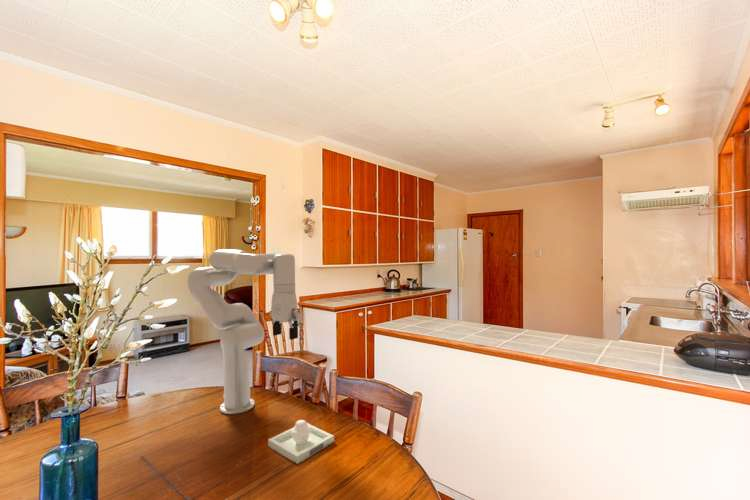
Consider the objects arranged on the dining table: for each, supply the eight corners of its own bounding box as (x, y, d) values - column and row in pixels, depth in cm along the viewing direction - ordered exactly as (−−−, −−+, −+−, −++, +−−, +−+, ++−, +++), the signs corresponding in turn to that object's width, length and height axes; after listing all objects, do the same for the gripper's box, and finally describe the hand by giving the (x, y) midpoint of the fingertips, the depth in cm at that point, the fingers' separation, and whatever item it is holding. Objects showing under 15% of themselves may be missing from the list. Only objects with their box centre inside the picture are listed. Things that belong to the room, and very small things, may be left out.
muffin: (294, 450, 107) (294, 426, 107) (288, 440, 112) (288, 418, 112) (314, 443, 110) (313, 421, 110) (307, 435, 116) (306, 413, 116)
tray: (268, 446, 110) (268, 439, 110) (305, 428, 121) (304, 421, 121) (297, 464, 101) (297, 456, 101) (334, 442, 112) (334, 436, 112)
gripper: (261, 288, 129) (262, 335, 129) (290, 291, 118) (291, 342, 118) (279, 286, 135) (279, 331, 135) (308, 289, 123) (309, 338, 123)
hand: (285, 336), depth 126 cm, fingers open, 9 cm apart
